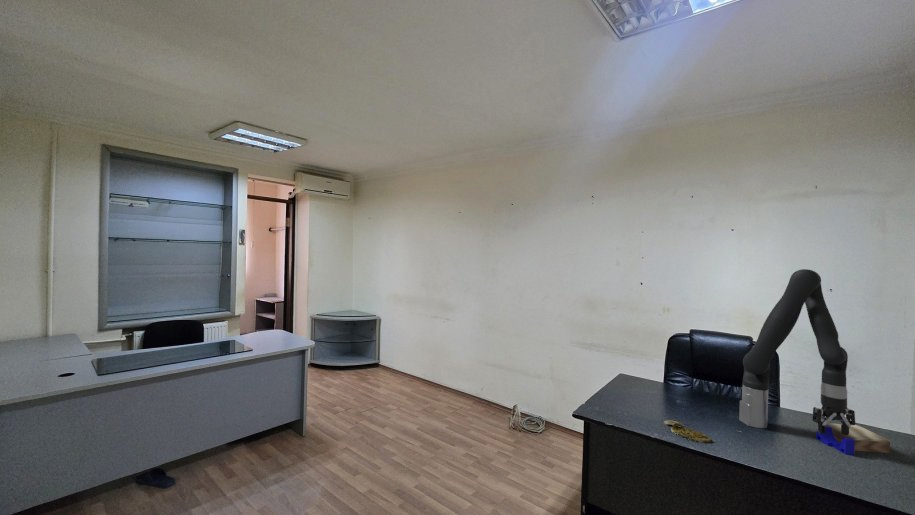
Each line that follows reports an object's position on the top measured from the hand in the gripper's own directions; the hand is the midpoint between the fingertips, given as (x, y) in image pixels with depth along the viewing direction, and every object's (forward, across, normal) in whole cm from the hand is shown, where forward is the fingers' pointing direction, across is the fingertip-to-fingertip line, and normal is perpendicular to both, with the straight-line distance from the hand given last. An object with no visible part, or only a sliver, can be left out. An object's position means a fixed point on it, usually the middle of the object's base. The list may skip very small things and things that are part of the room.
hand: (833, 434), depth 147 cm
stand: (+5, +12, +4) cm, 14 cm away
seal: (+5, -55, +2) cm, 55 cm away
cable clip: (+6, +1, 0) cm, 6 cm away
